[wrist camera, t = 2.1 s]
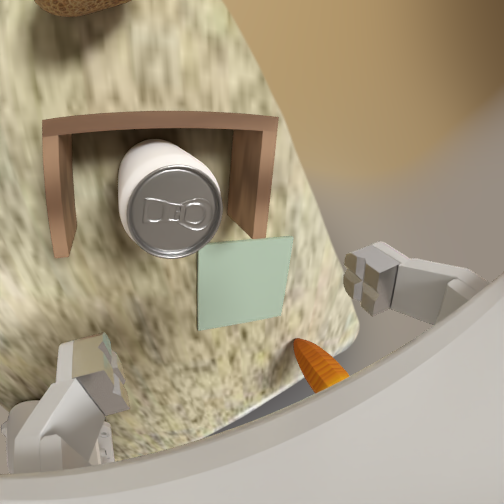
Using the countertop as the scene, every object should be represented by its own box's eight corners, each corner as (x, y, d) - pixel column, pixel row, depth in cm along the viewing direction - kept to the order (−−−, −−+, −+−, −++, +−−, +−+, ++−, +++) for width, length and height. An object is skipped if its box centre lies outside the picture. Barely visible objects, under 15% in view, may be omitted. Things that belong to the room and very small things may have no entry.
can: (181, 208, 30) (219, 266, 20) (114, 204, 27) (115, 264, 17) (192, 142, 27) (240, 165, 18) (123, 134, 25) (126, 151, 15)
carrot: (315, 333, 46) (376, 401, 34) (292, 356, 46) (348, 427, 34) (298, 320, 43) (363, 395, 31) (273, 346, 43) (331, 424, 31)
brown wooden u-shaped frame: (238, 213, 32) (265, 238, 27) (65, 227, 26) (54, 258, 20) (246, 113, 28) (278, 117, 23) (59, 117, 21) (42, 120, 16)
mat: (279, 313, 41) (280, 315, 41) (197, 328, 37) (198, 330, 36) (291, 235, 36) (293, 237, 36) (197, 244, 32) (198, 245, 32)
